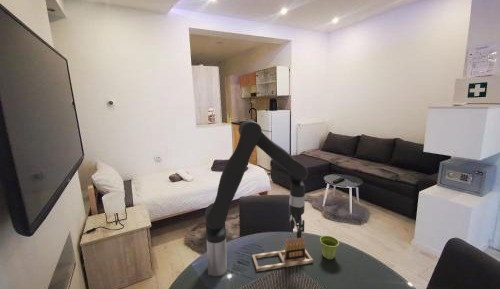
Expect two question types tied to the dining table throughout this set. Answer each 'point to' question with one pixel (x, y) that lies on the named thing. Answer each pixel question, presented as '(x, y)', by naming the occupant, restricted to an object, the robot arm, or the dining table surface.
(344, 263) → the dining table surface
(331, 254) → the plant pot
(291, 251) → the ammunition clip
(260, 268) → the wooden double frame
